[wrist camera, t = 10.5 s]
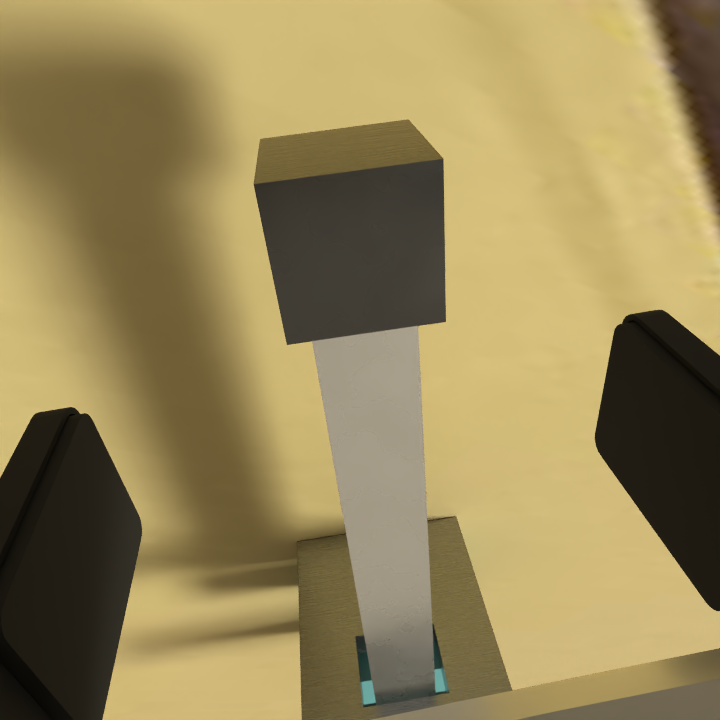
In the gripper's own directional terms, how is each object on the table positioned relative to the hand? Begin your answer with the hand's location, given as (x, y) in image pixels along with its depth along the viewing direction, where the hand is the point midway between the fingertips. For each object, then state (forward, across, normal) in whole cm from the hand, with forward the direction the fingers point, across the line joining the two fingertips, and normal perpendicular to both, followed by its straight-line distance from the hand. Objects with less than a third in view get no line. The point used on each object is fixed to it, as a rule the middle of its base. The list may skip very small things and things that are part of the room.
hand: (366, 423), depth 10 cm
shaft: (+12, -1, +13) cm, 18 cm away
